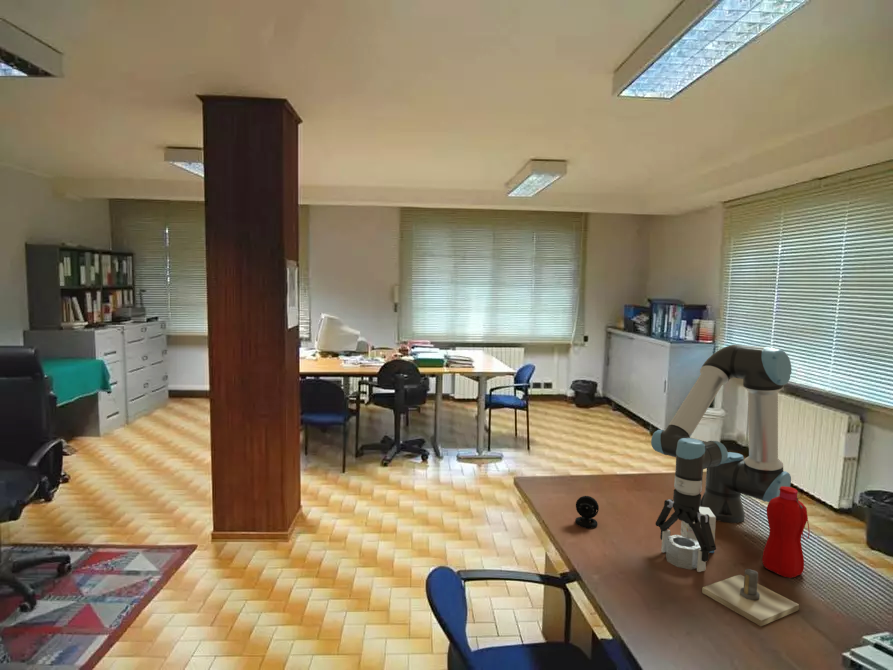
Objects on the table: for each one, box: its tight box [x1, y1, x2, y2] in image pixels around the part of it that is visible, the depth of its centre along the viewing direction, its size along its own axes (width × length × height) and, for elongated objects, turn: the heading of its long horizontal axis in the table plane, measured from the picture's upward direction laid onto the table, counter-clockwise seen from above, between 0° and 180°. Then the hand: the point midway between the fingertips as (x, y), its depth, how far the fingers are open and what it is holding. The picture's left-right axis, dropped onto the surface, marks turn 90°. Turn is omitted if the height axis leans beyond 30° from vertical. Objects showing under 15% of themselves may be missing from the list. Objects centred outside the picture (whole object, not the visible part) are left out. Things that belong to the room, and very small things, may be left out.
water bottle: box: [761, 486, 810, 579], centre depth 154 cm, size 9×11×25 cm
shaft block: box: [701, 568, 800, 627], centre depth 138 cm, size 16×16×8 cm
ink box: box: [680, 507, 717, 554], centre depth 169 cm, size 9×8×13 cm
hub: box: [665, 534, 701, 570], centre depth 159 cm, size 9×9×6 cm
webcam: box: [575, 495, 600, 530], centre depth 182 cm, size 8×8×10 cm
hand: (682, 560), depth 159 cm, fingers open, 12 cm apart
